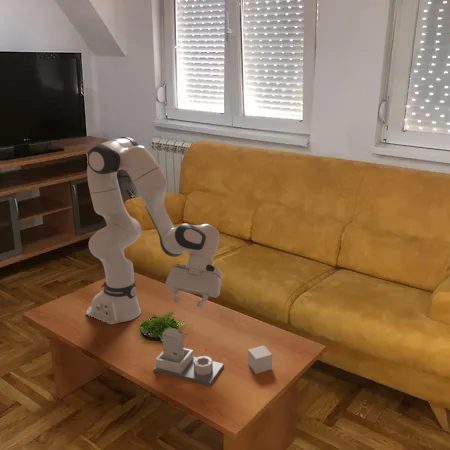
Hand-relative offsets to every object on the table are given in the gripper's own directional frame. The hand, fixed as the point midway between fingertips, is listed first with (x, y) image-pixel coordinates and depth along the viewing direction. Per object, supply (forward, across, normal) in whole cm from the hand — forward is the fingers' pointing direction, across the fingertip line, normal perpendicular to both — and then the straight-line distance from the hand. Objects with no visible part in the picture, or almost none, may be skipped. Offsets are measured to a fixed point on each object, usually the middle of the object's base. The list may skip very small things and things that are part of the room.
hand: (187, 304), depth 179 cm
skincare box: (+20, 0, +4) cm, 20 cm away
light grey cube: (+14, +28, +12) cm, 33 cm away
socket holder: (+20, +6, +5) cm, 22 cm away
